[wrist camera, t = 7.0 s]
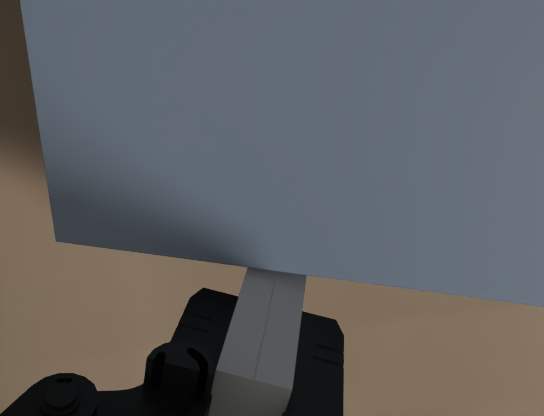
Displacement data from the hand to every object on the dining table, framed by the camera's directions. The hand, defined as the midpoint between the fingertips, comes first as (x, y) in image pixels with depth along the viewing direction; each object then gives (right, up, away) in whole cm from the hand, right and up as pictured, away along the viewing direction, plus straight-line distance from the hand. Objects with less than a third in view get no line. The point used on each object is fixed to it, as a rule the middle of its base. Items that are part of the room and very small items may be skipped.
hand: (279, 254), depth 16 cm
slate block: (+1, +7, -2) cm, 7 cm away
